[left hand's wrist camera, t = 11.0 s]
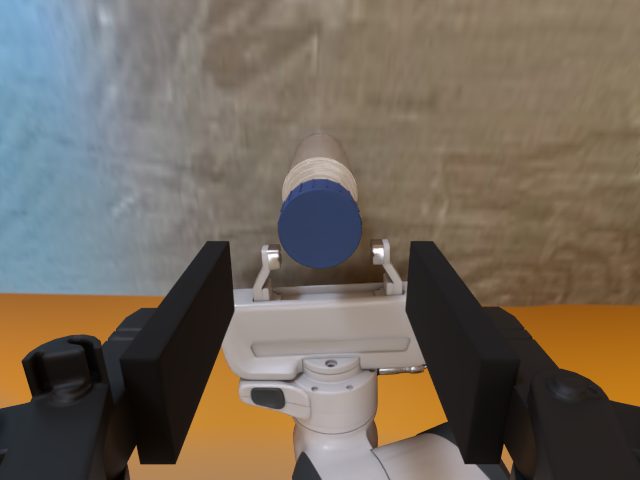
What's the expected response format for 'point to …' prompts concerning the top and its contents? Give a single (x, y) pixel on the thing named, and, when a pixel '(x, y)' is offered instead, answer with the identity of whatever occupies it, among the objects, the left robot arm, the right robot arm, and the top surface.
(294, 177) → the bottle
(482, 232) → the top surface
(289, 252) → the cap
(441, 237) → the top surface
